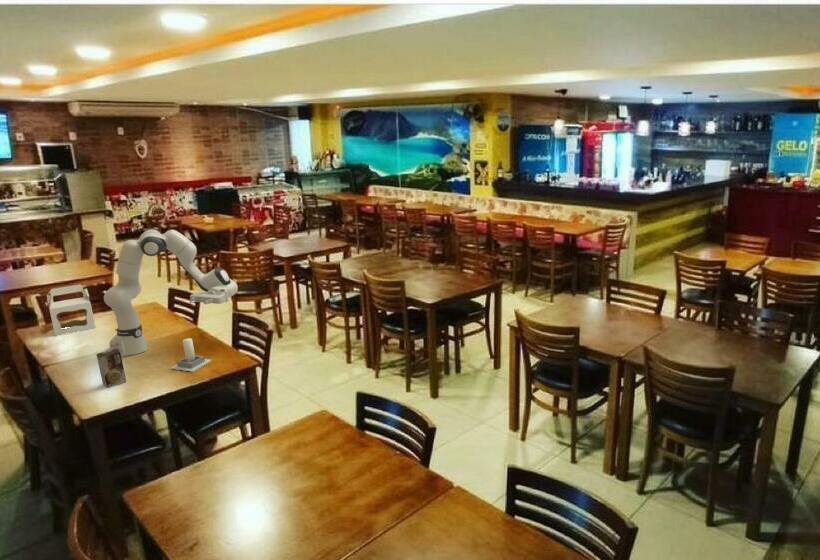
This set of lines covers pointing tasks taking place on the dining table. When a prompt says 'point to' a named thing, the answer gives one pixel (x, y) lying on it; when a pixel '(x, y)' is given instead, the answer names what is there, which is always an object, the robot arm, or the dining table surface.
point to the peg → (189, 350)
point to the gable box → (70, 306)
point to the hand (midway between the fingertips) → (198, 302)
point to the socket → (191, 364)
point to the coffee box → (111, 368)
